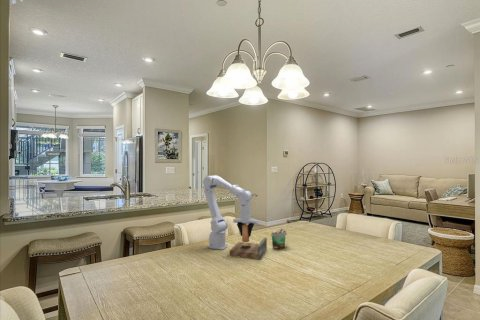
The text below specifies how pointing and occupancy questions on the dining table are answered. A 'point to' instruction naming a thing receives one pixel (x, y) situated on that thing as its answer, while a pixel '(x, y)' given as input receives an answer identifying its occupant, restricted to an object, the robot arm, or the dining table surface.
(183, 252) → the dining table surface
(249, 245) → the socket block
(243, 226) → the peg
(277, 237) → the food container
